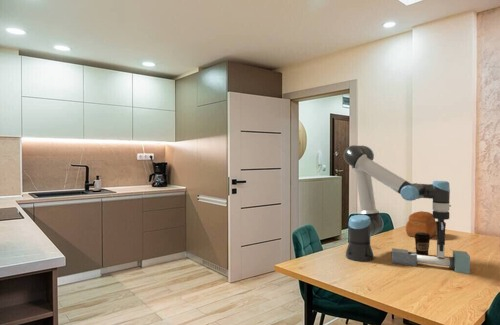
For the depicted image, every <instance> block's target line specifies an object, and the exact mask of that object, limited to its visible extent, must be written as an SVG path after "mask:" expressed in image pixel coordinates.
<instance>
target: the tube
mask: <svg viewBox="0 0 500 325" xmlns="http://www.w3.org/2000/svg"><path fill="white" fill-rule="evenodd" d="M437 243H439V240H438V239H437V238H436V256H433V255H432V256H431V255H429V256H424V255H417V264H418V263H419V264H427V265H435V266H445V267H449V269H454V267H455V259H453V256H449V257H444V258H442V257H438V244H437ZM411 255H415V254H411Z"/></svg>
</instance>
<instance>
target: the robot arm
mask: <svg viewBox="0 0 500 325" xmlns="http://www.w3.org/2000/svg"><path fill="white" fill-rule="evenodd" d="M343 151H344V152H343V159H344V161H345V162H346V163H347V164H348V165H349V166H351V168H352V169H353V171H354V172H355V177H356V178H355V179H356V185H357V193H358V200H359V208H360V211H359V212H358V214H357V215H356V214H355V215H351V216H350V217H349V219H348V244H347V247H346V250H345V258H347V259H348V260H352V261H355V262H370V261H373V260H374V258H375V257H374V256H375V255H374V252H373V249H372V246H371V236H375V235H378V234H379V233H380V232H381V231H383V229H384V220H383V218H382V217H381V215H380V211H379V210H377V209H376V203H375V196H374V195H375V192H374V187H373V180H372V178H374V179H375V180H376V181H378V182H380V183H382V184H383V185H385V186H387V187H388V188H390V189H391V190H393V191H395V192H396V193H398V194H399V195H400V196H401V198H402V200H403V199H404V200H405V201H409V202H410V201H411V202H413V201H416V200H419V199H432V208H431V209H432V214H433V218H435V221H436V220H437V221H436V225H437V233H436V240H437V239H438V240H439V243H437V242H436V245H437V244H438V257H442V258H445V245H446V225H447V223H446V222H445V220H450V207H452V205H451V204H450V197H451V195H450V194H451V187H450V182H449V181H447V180H434V181H432V184H428V183H413V182H412V183H411V182H410V181H407V179H404V178H403V177H401V176H400V175H397V174H396V173H394V172H392V171H391V170H389V169H387V168H385V167H384V166H382V165H380V164H379V163H377V162H375V161H374V159H375V154H374V150H372V149H371V148H370V147H369V146H366V145H350V146H348V147H346V148H345V150H343Z"/></svg>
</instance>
